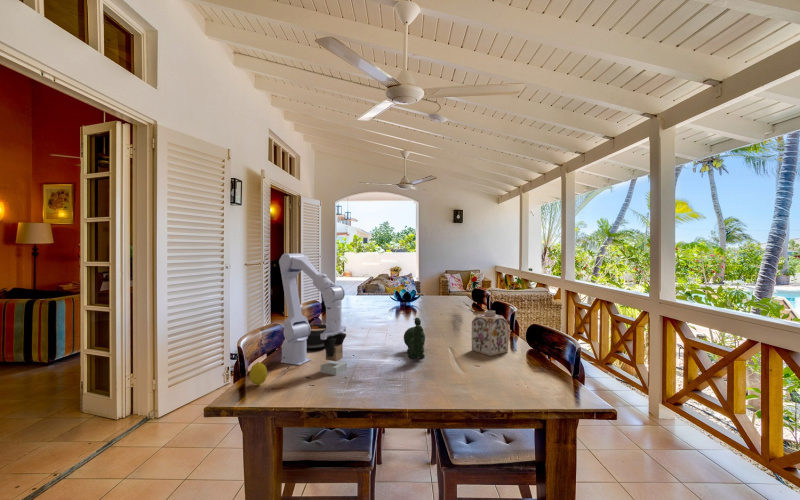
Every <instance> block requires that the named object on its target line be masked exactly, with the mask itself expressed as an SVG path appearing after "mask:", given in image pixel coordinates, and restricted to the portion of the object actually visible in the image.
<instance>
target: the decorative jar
mask: <svg viewBox="0 0 800 500" xmlns="http://www.w3.org/2000/svg"><path fill="white" fill-rule="evenodd" d="M471 351H473V352H475V353H476V352H477V353H479V354H482V355H484V356H489V357H491V356H497V355H501V354H505V353H509V322H508V320H507V319H506V318H505V317H504V316H503V315H500V314H496V310H485V311H484V313H480V314H477V315H476V316H475V317H474V318H473V319H472V321H471Z"/></svg>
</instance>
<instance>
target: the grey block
mask: <svg viewBox="0 0 800 500" xmlns="http://www.w3.org/2000/svg"><path fill="white" fill-rule="evenodd" d="M347 370H348V362H344V361H339V360H338V361H331V360H328V362H325V363H323V364H320V373H322V374H327V375H332V376H338V375H340V374H341V373H343V372H345V371H347Z"/></svg>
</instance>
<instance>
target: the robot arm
mask: <svg viewBox="0 0 800 500" xmlns="http://www.w3.org/2000/svg"><path fill="white" fill-rule="evenodd" d="M278 264H279V268H280V274H281V280H282V281H281V282H282V286H283V292H284V298H285V299H284V300H285V304H286V310H287V316H288V317H287V318H286V319H285V321H284V322H283V337H284V340H283V341H282V344H281V360H280V363H282V364H289V365H295V366H300V365H303V364H305V363H307V362H310V361H311V360H312V358H308V357H307V356H308V355H307V354H308V353H307V351H308V350H307V349H308V348H307V342H306V339H308V336H309V335H310V333H311V327H310V325H311V324H310V323H309V322H308V318H307V317H306V315H305V316H304V315H303V313H302V307H301V302H300V295H299V289H298V283H297V279H296V277H297V276H298V274H300V273H301V272H302V271H303V272H302V273H305V275H307V276H308V277H309V279H312V285H313V286H314V287H315V288H316V289H317V290H318V291H319V292H320V293H321V295H322V296H321V297H322V299H323V301H324V306H325V325H326V330H325V331H324V332H323V333H322V334H320V339H321V341H322V342H323V344H324V348H325V354H326V353H327V356H329V357H333V354H334V345H335V344H339V345H344V344H343V343H344V341H345V338H346V337H347V333H346V332H347V326H344V325H342V300H343V299H344V298H345V290H344V288H343V287H342V285H337V284H335V283H334V282H333V281H332V280H331V279H330V278H329V277H328V275H327V274H326V273H320V272H319V271H318V270H317V269H316V268H315V266H313V264H312V263H311V262H310V258H309V256H307V255H306V253H304V252H300V253H296V252H295V253H286V252H285V253H283V254H281V256H280V258H279V261H278Z"/></svg>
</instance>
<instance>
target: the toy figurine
mask: <svg viewBox="0 0 800 500" xmlns="http://www.w3.org/2000/svg"><path fill="white" fill-rule="evenodd" d="M421 322H422V321H421V319H420V318H419V317H415V318H414V326H411V327H409V328H408V329H406V331H405V332H404V333H403V341H404V344H405V346H406V347H407V349H406V353H407V356H408V358H409V359H412V360H416V358H419V359H421V360H422V359H423V360H424V359H425V348H424V346H425V342H426V334H425V332H424V329H423V326H422V325H421V324H422V323H421Z"/></svg>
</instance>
